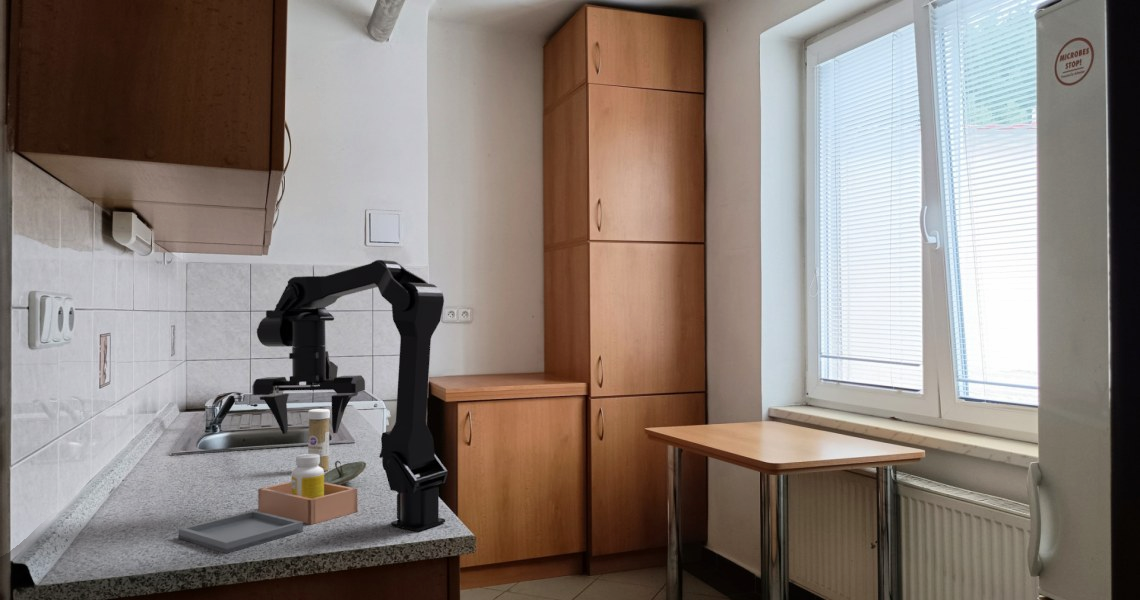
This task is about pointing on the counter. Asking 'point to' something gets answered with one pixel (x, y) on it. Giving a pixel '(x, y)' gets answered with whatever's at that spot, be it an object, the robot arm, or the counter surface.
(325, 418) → the sprinkles bottle
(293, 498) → the holder
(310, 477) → the supplement bottle
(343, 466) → the lid
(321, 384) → the robot arm
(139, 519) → the counter surface
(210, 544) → the tray
